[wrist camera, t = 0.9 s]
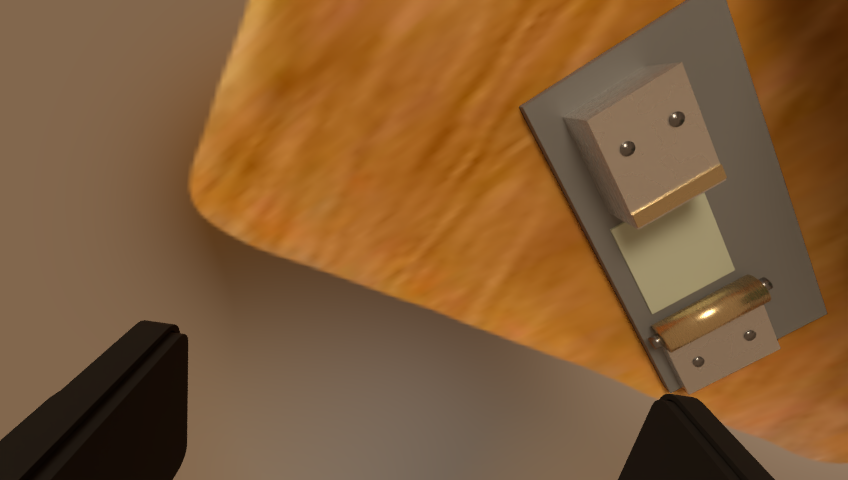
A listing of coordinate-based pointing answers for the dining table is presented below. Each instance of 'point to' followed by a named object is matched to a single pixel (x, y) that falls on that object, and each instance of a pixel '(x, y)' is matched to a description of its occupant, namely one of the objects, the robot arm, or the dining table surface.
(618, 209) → the tan studded block
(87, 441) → the robot arm
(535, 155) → the dining table surface
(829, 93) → the dining table surface
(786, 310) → the board
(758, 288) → the fixed leaf
